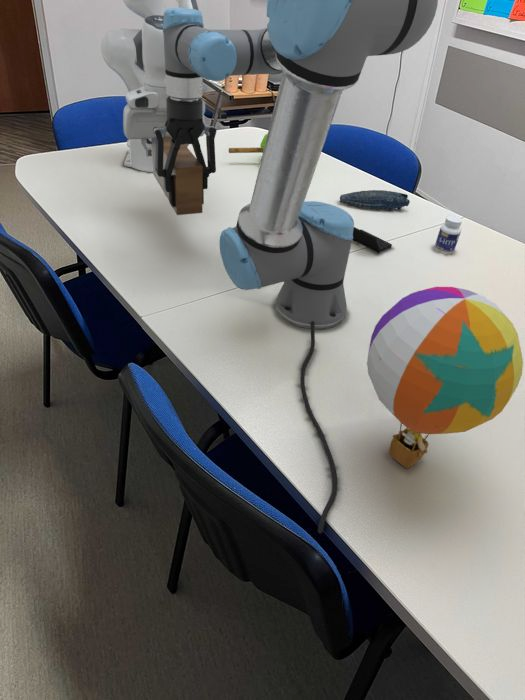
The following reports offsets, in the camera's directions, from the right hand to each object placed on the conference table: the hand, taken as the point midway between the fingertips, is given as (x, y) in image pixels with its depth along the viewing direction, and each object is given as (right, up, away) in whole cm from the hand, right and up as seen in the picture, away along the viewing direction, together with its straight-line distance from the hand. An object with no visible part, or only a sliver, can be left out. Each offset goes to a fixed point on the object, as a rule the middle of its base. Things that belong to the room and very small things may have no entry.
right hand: (186, 203), depth 122 cm
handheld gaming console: (+45, -6, +17) cm, 49 cm away
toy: (+40, -52, -40) cm, 77 cm away
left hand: (-7, +16, +11) cm, 20 cm away
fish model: (+52, +10, +38) cm, 65 cm away
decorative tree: (+21, +30, +60) cm, 70 cm away
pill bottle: (+67, -8, +18) cm, 70 cm away
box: (-4, +5, +8) cm, 10 cm away
